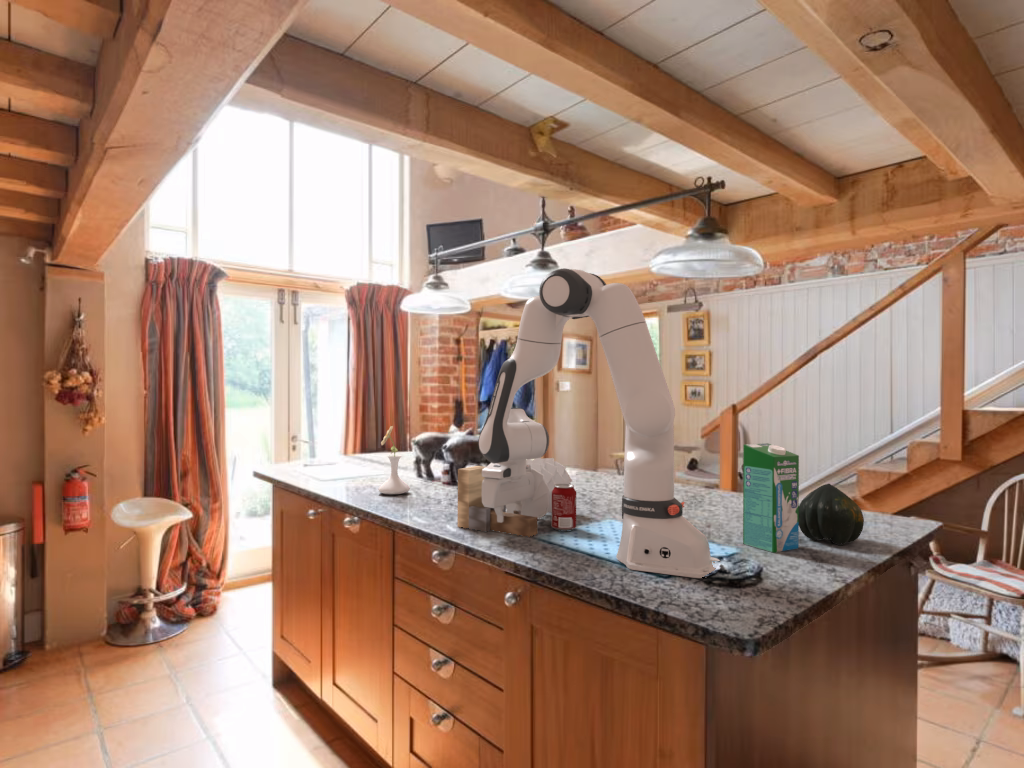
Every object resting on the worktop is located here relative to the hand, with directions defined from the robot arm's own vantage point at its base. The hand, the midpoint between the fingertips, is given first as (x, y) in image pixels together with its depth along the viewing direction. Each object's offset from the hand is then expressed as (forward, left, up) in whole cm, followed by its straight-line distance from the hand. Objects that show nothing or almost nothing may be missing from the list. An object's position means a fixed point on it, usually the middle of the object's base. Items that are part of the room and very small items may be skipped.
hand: (509, 519), depth 158 cm
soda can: (-10, -11, -3) cm, 16 cm away
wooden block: (0, 0, -3) cm, 3 cm away
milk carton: (-60, -26, -3) cm, 66 cm away
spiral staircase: (+5, -20, -4) cm, 21 cm away
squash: (-71, -41, -4) cm, 82 cm away
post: (+10, 0, -3) cm, 10 cm away
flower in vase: (+66, -20, -3) cm, 69 cm away
